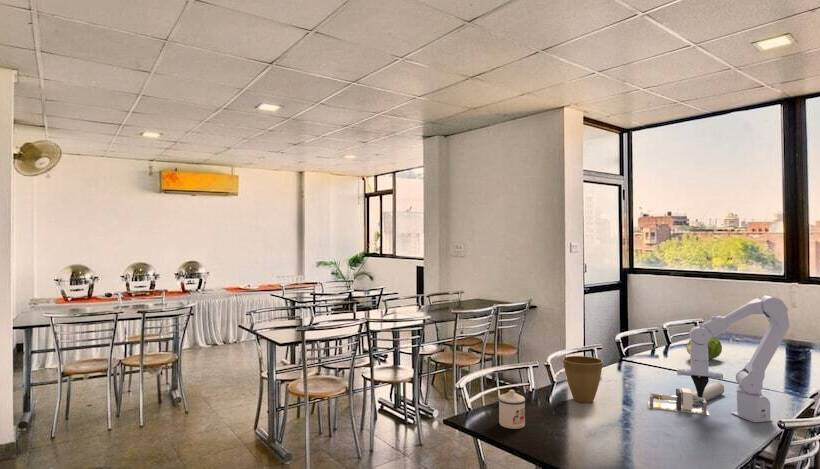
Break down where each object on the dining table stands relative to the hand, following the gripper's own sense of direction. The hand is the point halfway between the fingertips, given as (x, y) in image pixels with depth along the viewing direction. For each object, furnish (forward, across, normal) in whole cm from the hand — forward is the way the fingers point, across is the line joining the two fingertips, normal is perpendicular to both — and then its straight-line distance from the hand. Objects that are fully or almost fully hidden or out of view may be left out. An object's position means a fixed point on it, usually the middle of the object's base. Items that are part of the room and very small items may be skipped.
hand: (699, 396), depth 177 cm
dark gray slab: (+5, +7, 0) cm, 9 cm away
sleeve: (+5, +4, 0) cm, 7 cm away
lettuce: (+6, -12, -90) cm, 91 cm away
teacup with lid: (+6, +61, +40) cm, 73 cm away
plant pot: (+6, +41, +4) cm, 41 cm away
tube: (+6, -4, -16) cm, 18 cm away
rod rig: (+5, +8, 0) cm, 9 cm away
